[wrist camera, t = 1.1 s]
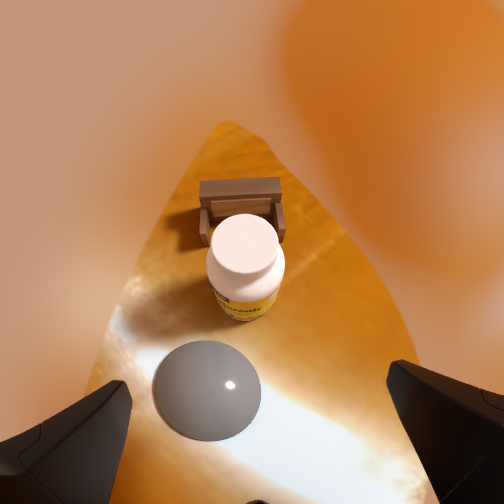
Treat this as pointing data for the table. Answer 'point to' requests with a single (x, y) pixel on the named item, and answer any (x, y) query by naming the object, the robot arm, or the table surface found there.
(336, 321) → the table surface
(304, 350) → the table surface
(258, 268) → the supplement bottle
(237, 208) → the bracket
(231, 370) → the slate coaster
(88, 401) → the robot arm
